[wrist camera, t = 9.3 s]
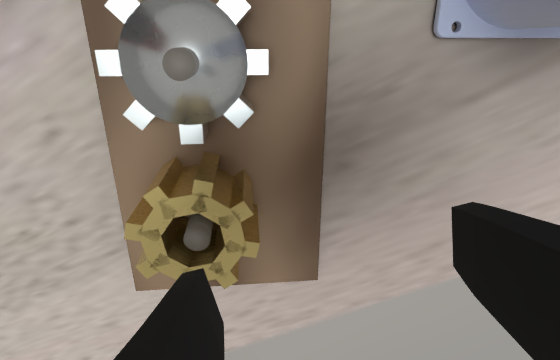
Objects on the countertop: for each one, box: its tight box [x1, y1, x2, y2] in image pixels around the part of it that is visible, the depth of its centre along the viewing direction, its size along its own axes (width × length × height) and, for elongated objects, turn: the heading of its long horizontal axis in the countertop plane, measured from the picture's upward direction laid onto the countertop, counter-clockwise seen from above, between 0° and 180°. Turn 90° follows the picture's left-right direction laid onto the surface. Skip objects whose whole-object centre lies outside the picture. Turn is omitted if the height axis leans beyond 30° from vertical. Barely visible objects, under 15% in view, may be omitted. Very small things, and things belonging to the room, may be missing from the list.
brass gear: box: [124, 152, 260, 289], centre depth 17 cm, size 6×6×4 cm
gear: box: [95, 0, 268, 144], centre depth 15 cm, size 7×7×2 cm
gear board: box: [81, 0, 331, 291], centre depth 17 cm, size 11×16×4 cm
